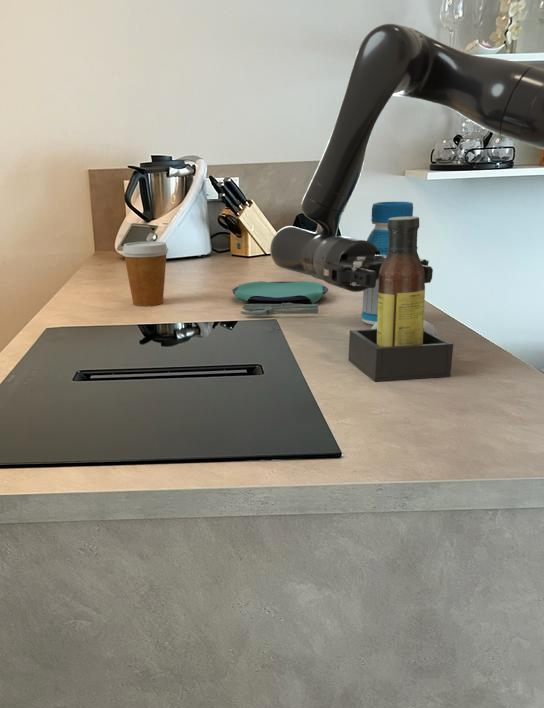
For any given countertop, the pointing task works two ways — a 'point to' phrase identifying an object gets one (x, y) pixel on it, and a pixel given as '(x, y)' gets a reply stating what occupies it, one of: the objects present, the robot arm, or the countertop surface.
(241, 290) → the cutlery set
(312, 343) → the countertop surface
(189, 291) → the countertop surface
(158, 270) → the disposable coffee cup
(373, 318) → the beverage bottle
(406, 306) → the sauce bottle
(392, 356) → the box
